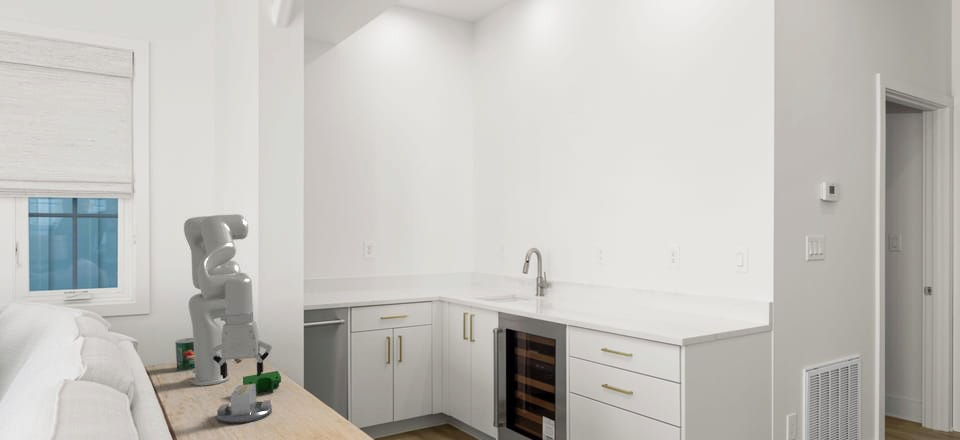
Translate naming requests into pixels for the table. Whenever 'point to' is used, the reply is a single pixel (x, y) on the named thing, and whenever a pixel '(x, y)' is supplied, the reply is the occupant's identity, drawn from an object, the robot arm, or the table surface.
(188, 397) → the table surface
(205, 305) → the robot arm
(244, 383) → the clamp
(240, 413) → the striped grey block
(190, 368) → the canned tomato
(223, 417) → the shallow grey dish
